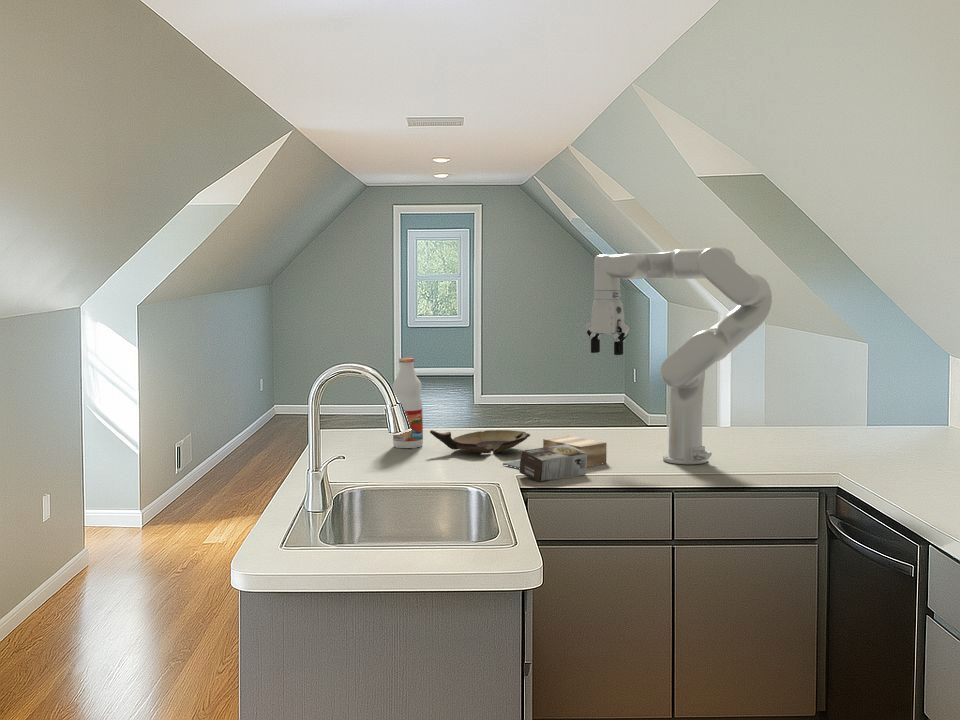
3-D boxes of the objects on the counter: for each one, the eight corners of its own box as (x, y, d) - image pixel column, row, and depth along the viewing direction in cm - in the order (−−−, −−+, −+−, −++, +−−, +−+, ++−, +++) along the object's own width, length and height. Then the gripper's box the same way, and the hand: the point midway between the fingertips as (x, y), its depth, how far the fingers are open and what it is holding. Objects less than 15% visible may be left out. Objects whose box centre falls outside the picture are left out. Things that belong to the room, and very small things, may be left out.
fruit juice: (397, 443, 317) (395, 356, 315) (425, 444, 316) (424, 357, 313) (389, 449, 308) (388, 359, 305) (419, 449, 307) (418, 360, 304)
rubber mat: (582, 468, 276) (582, 466, 276) (544, 475, 268) (544, 473, 267) (539, 459, 290) (539, 457, 290) (502, 465, 282) (502, 463, 282)
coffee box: (565, 465, 276) (518, 472, 267) (567, 443, 274) (520, 449, 265) (585, 475, 268) (538, 483, 259) (588, 453, 267) (540, 460, 258)
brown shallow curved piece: (529, 459, 291) (528, 433, 290) (428, 458, 293) (427, 432, 293) (530, 445, 313) (530, 421, 313) (437, 444, 316) (436, 420, 315)
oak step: (606, 463, 283) (606, 442, 283) (581, 467, 277) (581, 446, 277) (568, 455, 296) (568, 435, 295) (543, 459, 290) (543, 439, 289)
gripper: (637, 296, 288) (636, 355, 290) (595, 295, 302) (595, 351, 303) (619, 297, 283) (618, 356, 285) (577, 296, 297) (577, 352, 299)
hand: (606, 353), depth 294 cm, fingers open, 9 cm apart
